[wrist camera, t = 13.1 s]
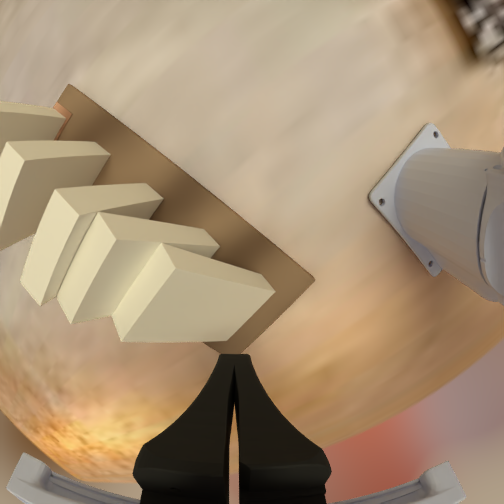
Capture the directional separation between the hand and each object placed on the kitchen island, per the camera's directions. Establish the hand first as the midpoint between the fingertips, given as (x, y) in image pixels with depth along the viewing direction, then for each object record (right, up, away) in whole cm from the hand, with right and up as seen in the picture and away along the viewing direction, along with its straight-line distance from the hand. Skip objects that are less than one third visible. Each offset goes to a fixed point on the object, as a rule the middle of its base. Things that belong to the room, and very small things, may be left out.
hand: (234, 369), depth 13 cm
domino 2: (-10, +10, +4) cm, 15 cm away
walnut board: (-6, +7, +5) cm, 11 cm away
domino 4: (-3, +5, +5) cm, 8 cm away
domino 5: (0, +2, +6) cm, 7 cm away
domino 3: (-7, +7, +5) cm, 11 cm away
